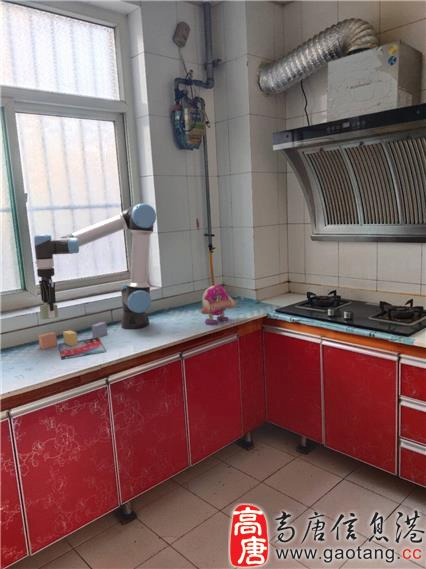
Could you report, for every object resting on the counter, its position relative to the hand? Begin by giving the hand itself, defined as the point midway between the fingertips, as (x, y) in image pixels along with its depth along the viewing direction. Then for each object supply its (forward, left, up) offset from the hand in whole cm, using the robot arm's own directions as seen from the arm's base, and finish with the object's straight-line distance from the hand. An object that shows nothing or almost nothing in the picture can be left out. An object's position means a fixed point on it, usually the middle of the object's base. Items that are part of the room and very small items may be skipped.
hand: (50, 316), depth 208 cm
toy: (-75, +37, -14) cm, 85 cm away
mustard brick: (-6, +7, -14) cm, 17 cm away
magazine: (-6, +17, -14) cm, 23 cm away
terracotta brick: (+3, +1, -14) cm, 14 cm away
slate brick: (-22, +5, -14) cm, 27 cm away
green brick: (0, 0, 0) cm, 1 cm away
